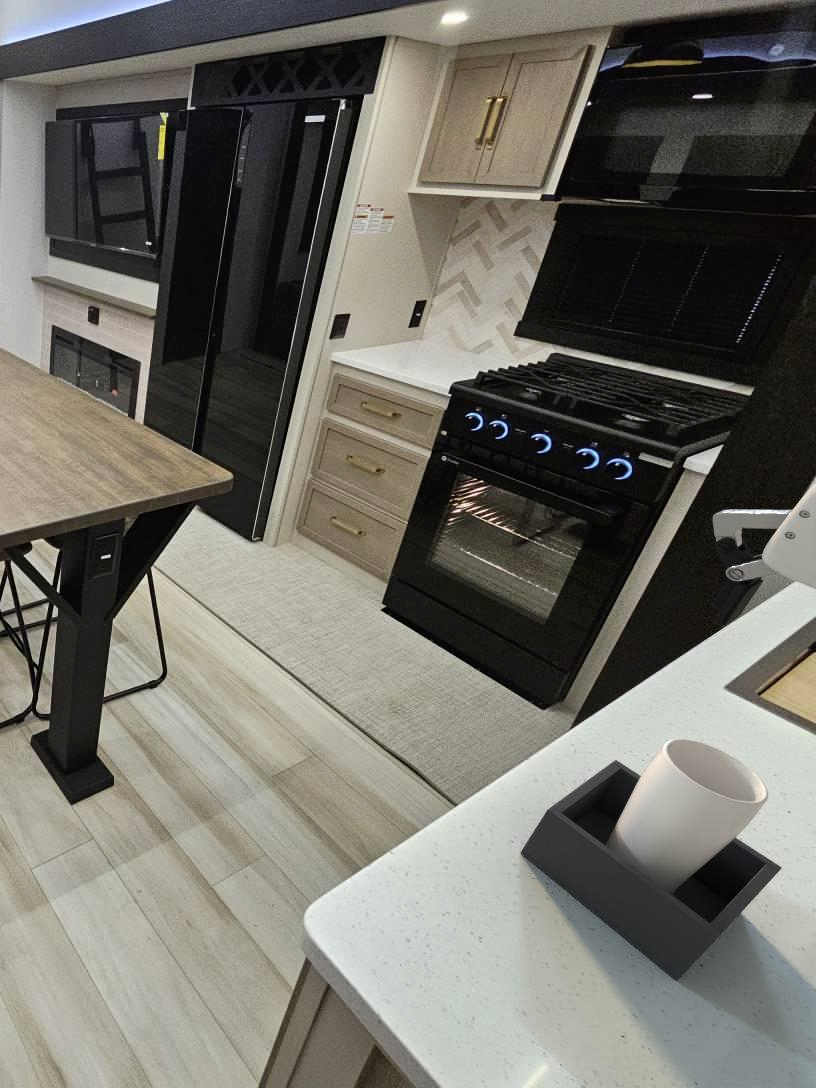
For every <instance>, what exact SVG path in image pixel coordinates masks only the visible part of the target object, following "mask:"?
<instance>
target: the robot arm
mask: <svg viewBox="0 0 816 1088" xmlns="http://www.w3.org/2000/svg"><path fill="white" fill-rule="evenodd" d="M712 527H713V534H714V537H715V543H714V548H715V551H716V552H717V554H718V556H719V558H720V559H721V561H722V563H723V565H724V566H725V576H726V577H727V578H728V579H727V580H726V582H725V583H724V586H723V587H722V588H721V590H720V592H719V593H718V595H717V596H716V598H715V599H714V601H713V602H712V604H711V607H713V608H714V609H717V610H719V611H718V612H717V614H716V615H715V617H714V619H713V620H712V622H711V623H712V624H715V625H717V626H718V627H722V626H723V627H727V626H728V625H729V624H731V623H732V622H733V621H735V620H737V619H738V618H739V617H740V616H741V615H742V613H743V612H744V610H745V609H746V607H747V606H748V604H749V603H750V602H751V600H752V599H753V597H754V596H755V594H756V593H757V592H758V590H759V588H760V587H761V585H762V584H763V582H764V579H762V578H763V577H766V576H772V575H776V574H779V575H781V576H783V577H785V578H787V579H790V580H792V581H794V582H797V583H799V584H802V585H804V586H806V587H808V588H812V589H814V590H816V481H815V482H814V483H813V485H812V486H811V487H810V488H809V489H808V490H807V491H806V493H805V494H804V495H803V496H802V498H801V499H800V500H799V501H798V502H797V504H796V505H795V506H794V508H793V509H722V510H720V511H719V512H716V513H715V514H713V516H712ZM743 529H759V530H760V529H764V530H768V529H769V530H776V531H775V532H774V534H773V535H771V538H770V539H769V540H768V542H767V544H766V545H765V547H764V549H763V551H762V553H761V554H757V555H754V556H753V554H752V552H751V551H750V549H749V547H748V546H747V544H746V542H745V540H744V539H743V537H742V534H743V531H742V530H743Z"/></svg>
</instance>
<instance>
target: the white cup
mask: <svg viewBox="0 0 816 1088" xmlns="http://www.w3.org/2000/svg"><path fill="white" fill-rule="evenodd" d="M640 776H641V777H640V778H639V780H638V782H637V784H636V786H635V788H634V790H633V792H632V794H631V796H630V798H629V800H628V802H627V804H626V806H625V808H624V810H623V812H622V814H621V816H620V818H619V820H618V822H617V824H616V826H615V827H614V829H613V831H612V833H611V835H610V837H609V839H608V841H607V842H606V843H605V846H606V847H608V848H609V849H610V850H612V851H613V852H614V853H616V854H617V855H619V856H620V857H621V858H623V859H624V860H625V861H627V862H628V863H629V864H631V865H632V866H633V867H635V868H636V869H637V870H639V871H640V872H641V873H643V874H644V875H646V876H647V877H648V878H650V879H651V880H652V881H654V882H655V883H656V884H658V885H659V886H660V887H662V888H663V889H664V890H666V891H667V892H668V893H670V894H671V895H672V894H673V893H674V892H675V891H676V890H677V889H678V888H679V887H680V886H681V885H682V884H683V883H684V882H685V881H686V880H688V879H689V878H690V877H691V876H692V875H693V874H694V873H695V872H697V871H698V870H699V869H700V868H701V867H702V866H704V865H705V864H706V863H707V862H708V861H709V860H710V859H712V858H713V857H714V856H715V855H716V854H717V853H719V852H720V851H721V850H722V849H723V848H724V847H726V846H727V845H728V844H729V843H730V842H731V841H733V840H734V839H735V838H737V837H738V836H739V835H740V834H741V833H742V832H743V831H744V830H745V829H746V828H747V827H748V826H749V825H750V823H751V822H753V820H754V819H755V817H756V816H757V815H758V813H759V812H760V811H761V809H762V808H763V806H764V805H765V803H766V802H767V801H768V799H769V790H768V788H767V786H766V784H765V782H764V781H763V780H762V779H761V777H759V775H758V774H757V773H756V772H755V771H754V770H753V769H752V768H750V767H749V766H748V765H747V764H745V763H744V762H742V761H741V760H740V759H738V758H737V757H735V756H733V755H731V754H729V753H728V752H726V751H724V750H722V749H720V748H718V747H716V746H713V745H710V744H708V743H704V742H702V741H700V740H699V741H698V740H694V739H689V738H672V739H670V740H667V741H665V743H664V744H663V745H662V747H660V749H659V750H658V751H657V752H656V753H655V754H654V756H653V757H652V759H651V760H650V761H649V763H648V764H647V765H646V767H645V768H644V770H643V772H642V773H641V775H640Z"/></svg>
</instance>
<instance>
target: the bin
mask: <svg viewBox="0 0 816 1088" xmlns="http://www.w3.org/2000/svg"><path fill="white" fill-rule="evenodd" d="M640 777H641V775H640V774H639V773H637V772H636V771H634V770H632V769H631V768H630V767H628V766H627V765H625V764H624V763H622V762H620V761H618V760H617V759H615V760H613V761H612V762H610V763H609V764H607V765H606V766H605V767H603V768H601V770H599V771H597V773H595V774H594V775H593V776H591V777H590V778H589V779H587V780H586V781H584V782H583V783H581V784H580V785H579V786H578V787H575V789H573V790H572V791H570V793H568V794H567V795H565V796H564V797H562V798H561V799H560V800H558V801H557V802H556V803H554V804H553V805H552V806H550V807H549V808H548V809H546V810H545V813H544V814H543V816H542V817H541V819H540V821H539V822H538V823H537V825H536V826H535V828H534V830H533V831H532V833H531V835H530V836H529V838H528V840H527V841H526V842H525V844H524V845H523V848H522V849H521V851H520V855H522V856H523V857H524V858H525V859H526V860H528V861H529V862H530V863H531V864H532V865H534V866H535V867H536V868H538V870H540V871H541V872H542V873H543V874H545V875H546V876H547V877H549V879H551V880H552V881H553V882H554V883H556V884H557V885H558V886H560V887H561V888H562V889H563V890H564V891H565V892H566V893H568V894H569V895H570V896H571V897H573V898H574V899H576V900H577V902H579V903H581V905H583V906H584V907H585V908H586V909H587V910H588V911H590V912H591V913H592V914H594V915H595V916H596V917H597V918H598V919H600V920H601V921H602V922H603V923H604V924H606V925H607V926H608V927H609V928H611V929H612V930H613V931H614V932H615V933H617V934H618V935H619V936H621V937H622V938H623V939H624V940H626V941H627V942H628V943H629V944H630V945H631V946H633V947H634V948H635V949H636V950H637V951H639V952H640V953H641V954H642V955H644V957H646V958H647V959H649V960H650V961H651V962H652V963H653V964H655V965H656V966H657V967H658V968H660V969H661V970H662V971H663V972H664V973H666V974H667V975H668V976H669V977H670V978H672V979H673V980H674V981H675V982H678V981H679V980H680V979H681V978H682V977H683V975H685V974H686V973H687V971H688V970H690V968H691V967H692V966H693V965H694V964H695V963H696V962H697V961H698V960H699V959H700V957H701V956H703V954H704V953H705V952H706V951H707V950H708V949H709V948H710V947H711V946H712V945H713V944H714V943H715V941H717V940H718V939H719V938H720V936H721V935H722V934H723V933H725V931H726V930H727V929H728V928H729V927H730V926H731V925H732V923H733V922H734V921H735V920H736V919H737V918H738V917H739V915H741V913H743V912H744V910H745V909H746V908H747V907H748V906H749V905H750V904H751V903H752V902H753V900H755V898H756V897H757V896H758V895H759V894H760V893H761V892H762V891H763V890H764V889H765V887H766V886H767V885H768V884H769V883H770V882H771V881H772V880H773V879H774V877H776V875H778V873H779V872H780V871H781V870H782V866H780V865H779V864H778V863H775V862H774V861H773V860H772V859H770V858H768V857H766V855H763V854H762V853H760V852H759V851H757V850H756V849H754V848H753V847H751V846H750V845H748V844H746V843H745V842H744V841H742V840H741V839H739V838H737V837H736V838H735V839H734V840H733V841H731V842H730V843H729V844H728V845H727V846H726V847H724V848H723V849H722V850H721V851H720V852H719V853H717V854H716V855H715V856H714V857H713V858H712V859H710V860H709V861H708V862H707V863H706V864H705V865H704V866H702V867H701V868H700V869H699V870H698V871H697V872H695V873H694V874H693V875H692V876H691V877H690V878H689V879H688V880H686V881H685V882H684V883H683V884H682V885H681V886H680V887H679V888H678V889H677V890H676V891H675V892H674V893H673V894H672V895H671V894H670V893H668V892H667V891H666V890H664V889H663V888H662V887H660V886H659V885H658V884H656V883H655V882H654V881H652V880H651V879H650V878H648V877H647V876H646V875H644V874H643V873H641V872H640V871H639V870H637V869H636V868H635V867H633V866H632V865H631V864H629V863H628V862H627V861H625V860H624V859H623V858H621V857H620V856H619V855H617V854H616V853H614V852H613V851H612V850H610V849H609V848H608V847H606V846H605V843H606V842H607V841H608V839H609V837H610V835H611V833H612V831H613V829H614V827H615V826H616V824H617V822H618V820H619V818H620V816H621V814H622V812H623V810H624V808H625V806H626V804H627V802H628V800H629V798H630V796H631V794H632V792H633V790H634V788H635V786H636V784H637V782H638V780H639V778H640Z"/></svg>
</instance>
